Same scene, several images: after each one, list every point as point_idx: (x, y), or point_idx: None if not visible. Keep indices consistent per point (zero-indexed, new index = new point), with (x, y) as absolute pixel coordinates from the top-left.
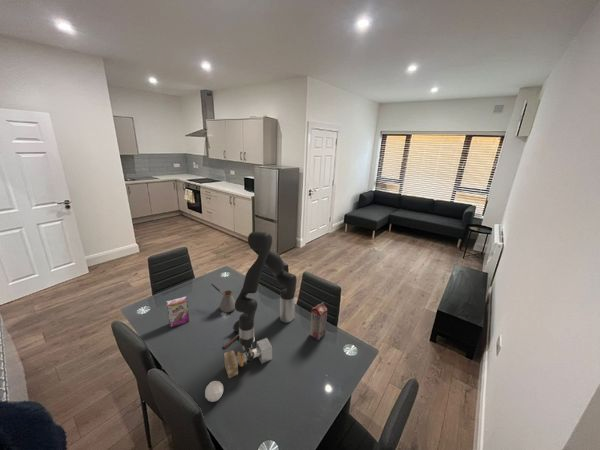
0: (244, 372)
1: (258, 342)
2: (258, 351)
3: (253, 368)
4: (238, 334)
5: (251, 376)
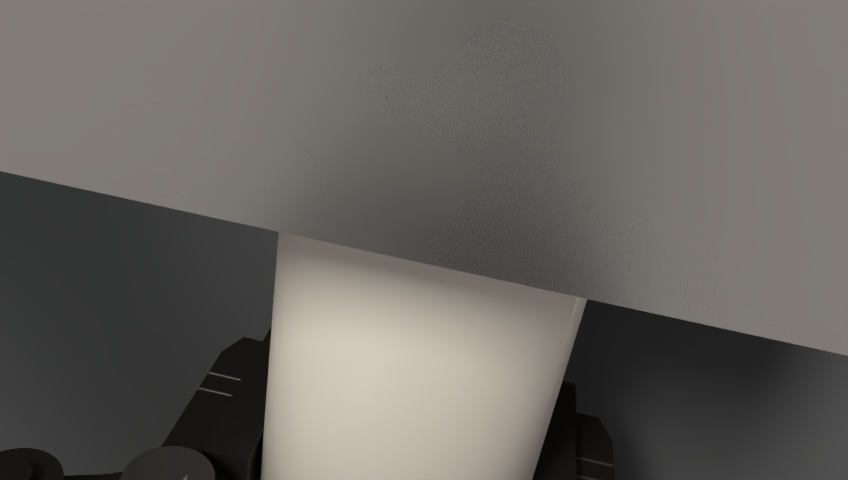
0: None
1: (107, 117)
2: None
3: None
4: None
5: (804, 429)
